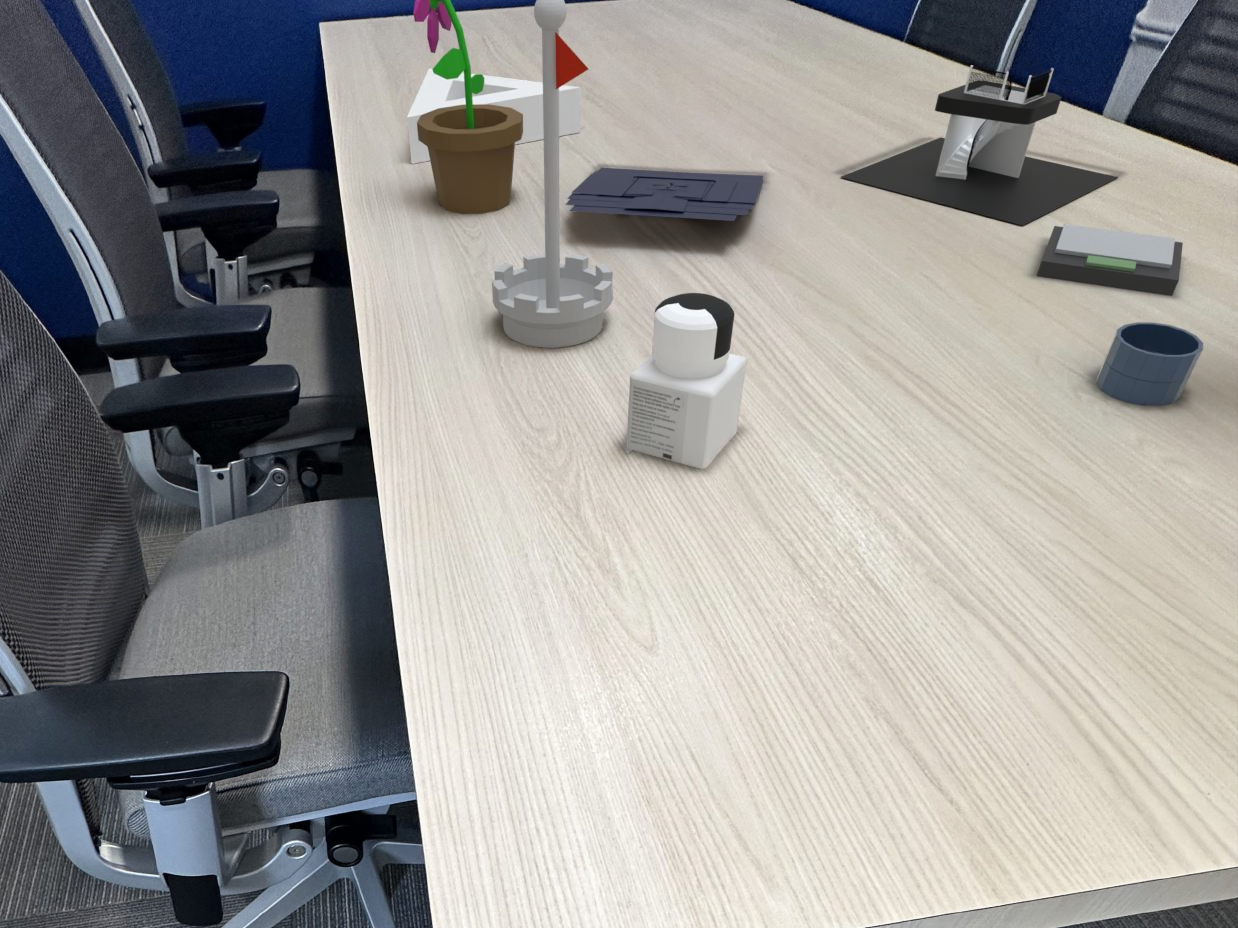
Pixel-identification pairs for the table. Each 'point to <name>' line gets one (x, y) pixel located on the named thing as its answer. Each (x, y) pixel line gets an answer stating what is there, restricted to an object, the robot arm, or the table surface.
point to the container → (687, 383)
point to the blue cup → (1149, 363)
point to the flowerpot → (466, 129)
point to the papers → (667, 194)
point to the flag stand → (553, 230)
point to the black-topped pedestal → (987, 155)
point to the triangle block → (495, 92)
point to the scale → (1113, 259)
